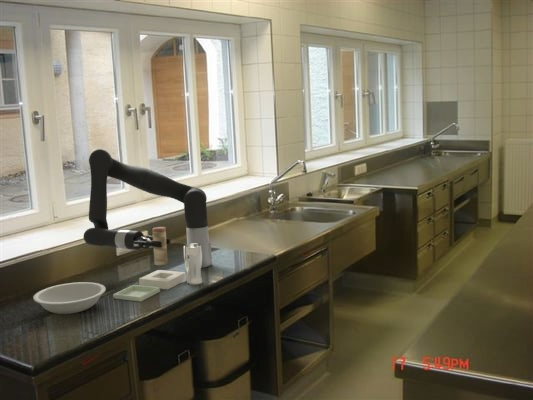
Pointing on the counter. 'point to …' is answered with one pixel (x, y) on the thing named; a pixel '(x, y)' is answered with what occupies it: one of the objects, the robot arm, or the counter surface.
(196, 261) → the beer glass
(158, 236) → the wooden plug
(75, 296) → the soup bowl
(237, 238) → the counter surface
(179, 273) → the socket block
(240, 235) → the counter surface
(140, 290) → the green tray
